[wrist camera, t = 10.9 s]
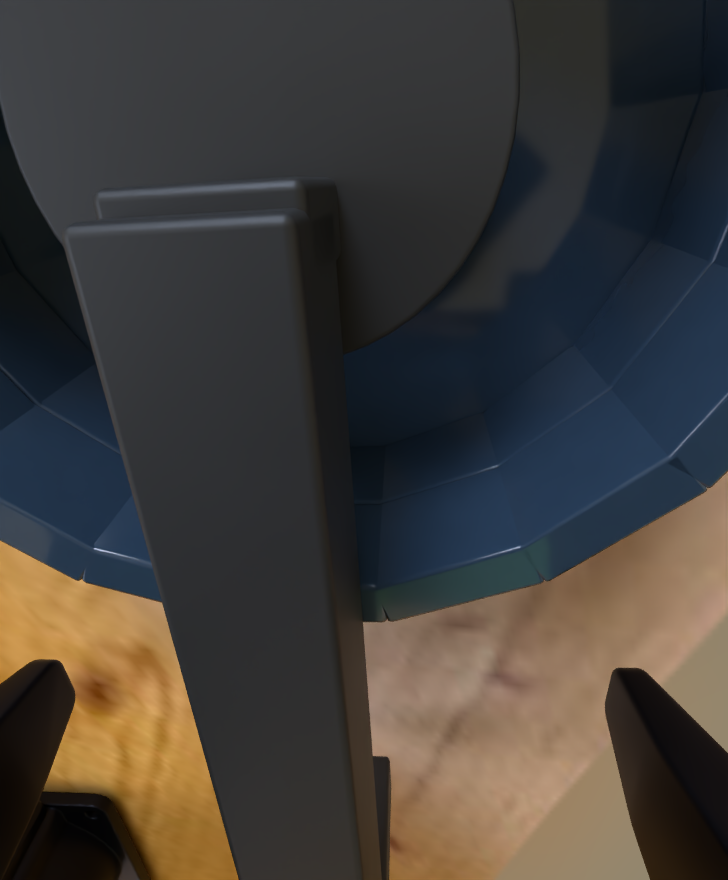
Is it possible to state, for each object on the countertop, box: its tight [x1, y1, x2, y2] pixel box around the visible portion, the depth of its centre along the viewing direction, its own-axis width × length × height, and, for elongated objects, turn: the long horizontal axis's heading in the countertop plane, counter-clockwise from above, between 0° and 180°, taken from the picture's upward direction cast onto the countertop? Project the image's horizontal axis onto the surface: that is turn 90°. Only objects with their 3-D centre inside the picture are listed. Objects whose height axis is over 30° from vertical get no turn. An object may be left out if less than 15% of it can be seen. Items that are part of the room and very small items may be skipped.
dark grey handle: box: [0, 0, 520, 880], centre depth 8 cm, size 18×5×6 cm, turn 3°
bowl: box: [0, 0, 728, 622], centre depth 7 cm, size 12×13×4 cm
